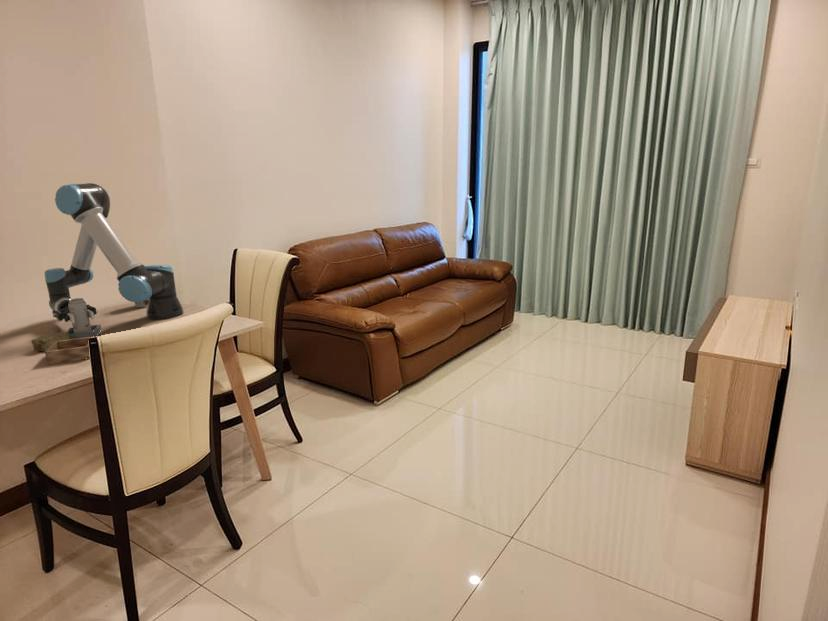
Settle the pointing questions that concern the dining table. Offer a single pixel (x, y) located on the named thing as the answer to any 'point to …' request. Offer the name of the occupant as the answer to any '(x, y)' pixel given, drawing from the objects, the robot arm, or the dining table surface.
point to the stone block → (48, 340)
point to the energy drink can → (79, 315)
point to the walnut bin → (68, 350)
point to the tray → (85, 334)
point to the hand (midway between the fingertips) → (83, 317)
